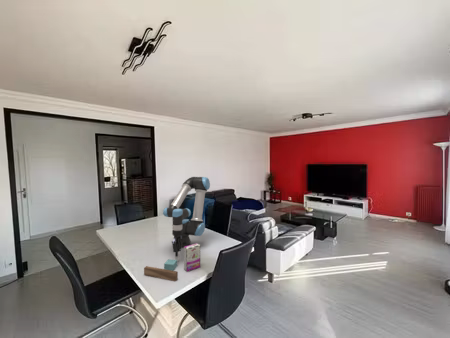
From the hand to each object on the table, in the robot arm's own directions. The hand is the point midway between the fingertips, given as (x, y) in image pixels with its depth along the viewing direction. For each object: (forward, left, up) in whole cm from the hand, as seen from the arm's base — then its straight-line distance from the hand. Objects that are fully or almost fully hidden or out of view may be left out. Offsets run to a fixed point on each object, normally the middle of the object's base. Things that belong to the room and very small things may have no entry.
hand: (177, 259), depth 154 cm
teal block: (+9, 0, -2) cm, 9 cm away
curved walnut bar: (+22, 0, -2) cm, 22 cm away
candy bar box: (+5, +15, -2) cm, 16 cm away
